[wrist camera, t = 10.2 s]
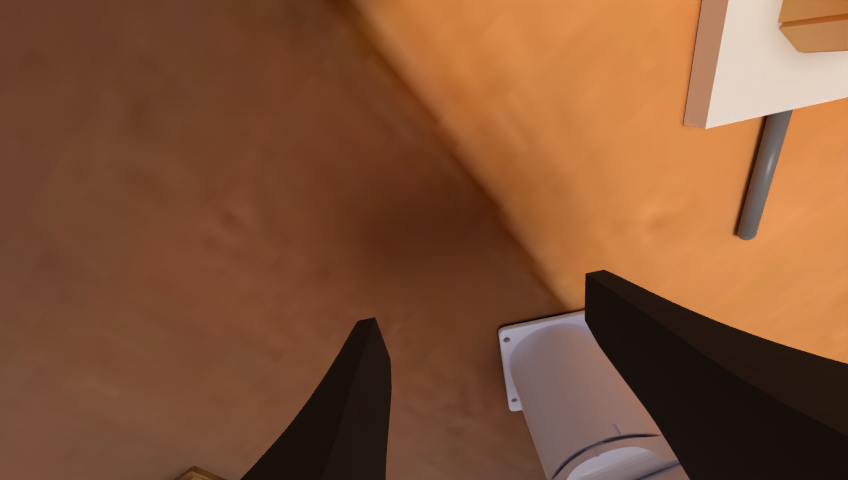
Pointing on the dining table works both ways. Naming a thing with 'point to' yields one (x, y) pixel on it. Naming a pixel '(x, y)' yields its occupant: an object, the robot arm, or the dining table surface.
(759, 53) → the white base
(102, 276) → the dining table surface
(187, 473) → the diary
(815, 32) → the ribbed domed knob
